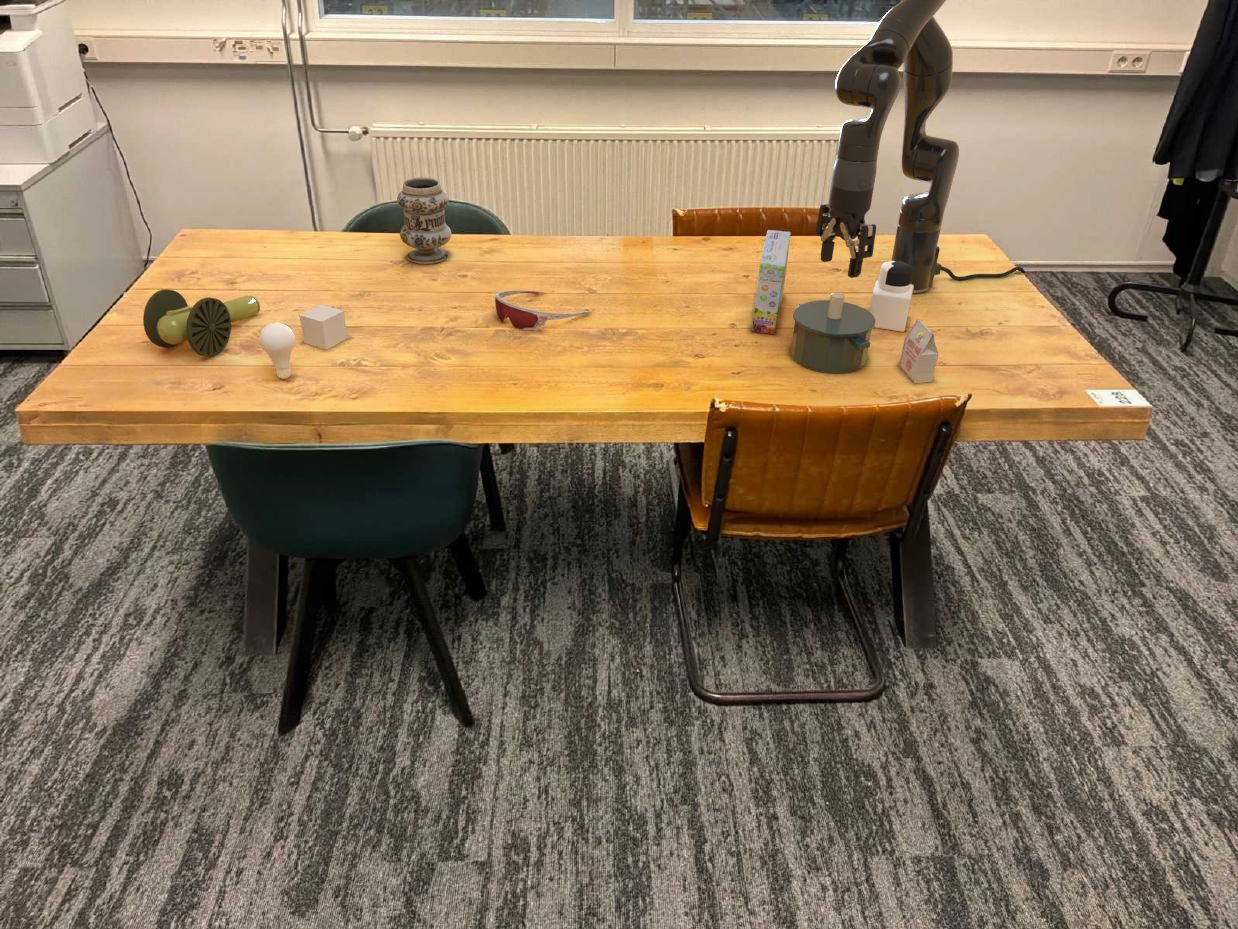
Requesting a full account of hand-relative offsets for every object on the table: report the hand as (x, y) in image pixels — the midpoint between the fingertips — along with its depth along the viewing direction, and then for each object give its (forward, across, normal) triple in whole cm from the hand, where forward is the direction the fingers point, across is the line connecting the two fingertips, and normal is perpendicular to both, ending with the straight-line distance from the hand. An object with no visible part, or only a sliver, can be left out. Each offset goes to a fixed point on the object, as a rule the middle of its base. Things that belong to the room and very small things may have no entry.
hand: (839, 268), depth 177 cm
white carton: (+18, -13, -11) cm, 25 cm away
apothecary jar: (+18, +81, +58) cm, 102 cm away
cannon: (+19, +55, +109) cm, 124 cm away
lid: (+10, 0, 0) cm, 10 cm away
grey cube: (+19, +45, +89) cm, 101 cm away
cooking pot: (+18, 0, 0) cm, 18 cm away
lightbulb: (+19, +32, +99) cm, 106 cm away
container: (+18, +8, -21) cm, 29 cm away
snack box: (+18, +22, 0) cm, 28 cm away
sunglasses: (+18, +40, +46) cm, 64 cm away
